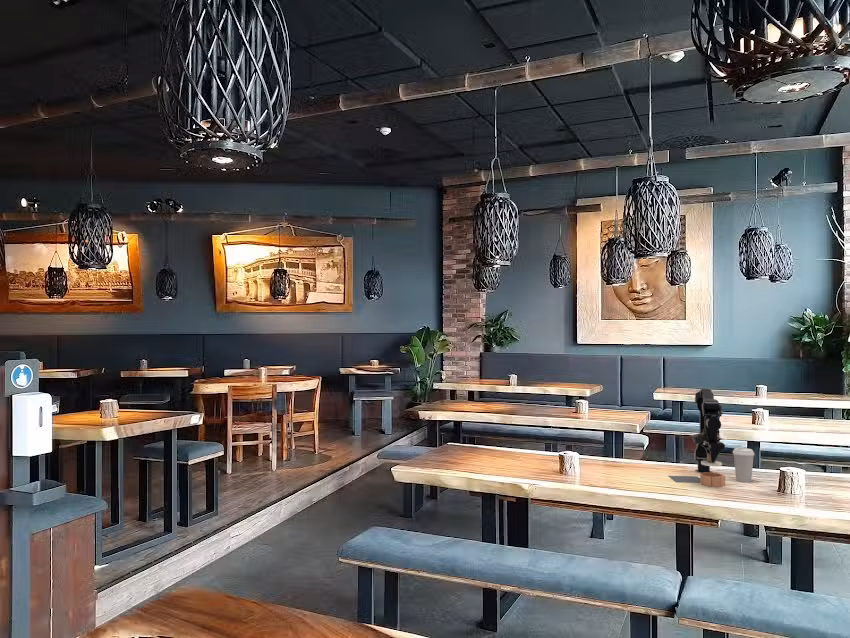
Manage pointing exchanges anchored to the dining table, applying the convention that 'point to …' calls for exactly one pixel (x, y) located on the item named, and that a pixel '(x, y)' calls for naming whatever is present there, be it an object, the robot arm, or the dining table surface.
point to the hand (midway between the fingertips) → (711, 461)
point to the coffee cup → (743, 464)
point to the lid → (709, 462)
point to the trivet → (685, 479)
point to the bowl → (712, 479)
